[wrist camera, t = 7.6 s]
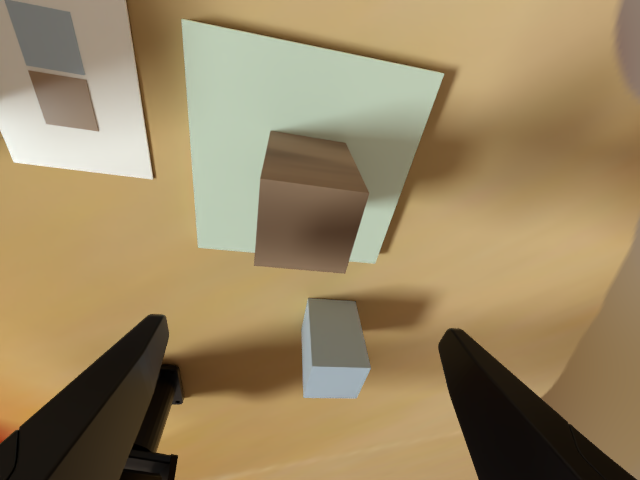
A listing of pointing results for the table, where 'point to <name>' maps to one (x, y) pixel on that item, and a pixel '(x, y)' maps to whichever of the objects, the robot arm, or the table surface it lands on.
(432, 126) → the table surface
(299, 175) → the walnut block
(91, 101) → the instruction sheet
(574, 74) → the table surface
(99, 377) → the robot arm
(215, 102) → the plate
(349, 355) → the gray block
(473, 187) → the table surface
